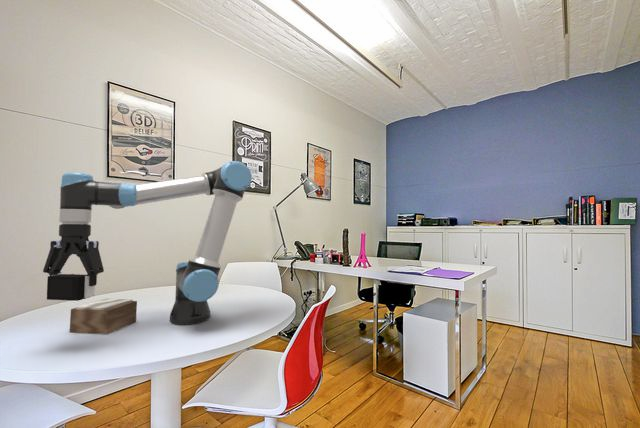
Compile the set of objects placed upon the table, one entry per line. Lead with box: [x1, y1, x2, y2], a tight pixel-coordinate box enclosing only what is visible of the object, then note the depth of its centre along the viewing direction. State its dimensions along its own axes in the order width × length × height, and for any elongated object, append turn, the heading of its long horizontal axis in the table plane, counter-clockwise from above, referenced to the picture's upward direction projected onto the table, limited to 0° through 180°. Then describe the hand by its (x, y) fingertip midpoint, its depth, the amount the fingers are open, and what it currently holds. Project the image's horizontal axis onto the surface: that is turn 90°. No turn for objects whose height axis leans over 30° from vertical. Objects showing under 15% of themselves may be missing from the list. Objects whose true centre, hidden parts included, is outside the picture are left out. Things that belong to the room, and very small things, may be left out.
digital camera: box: [46, 273, 91, 302], centre depth 89 cm, size 10×5×7 cm, turn 83°
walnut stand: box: [69, 298, 138, 335], centre depth 109 cm, size 14×14×9 cm
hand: (72, 296), depth 89 cm, fingers closed on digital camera, 10 cm apart
